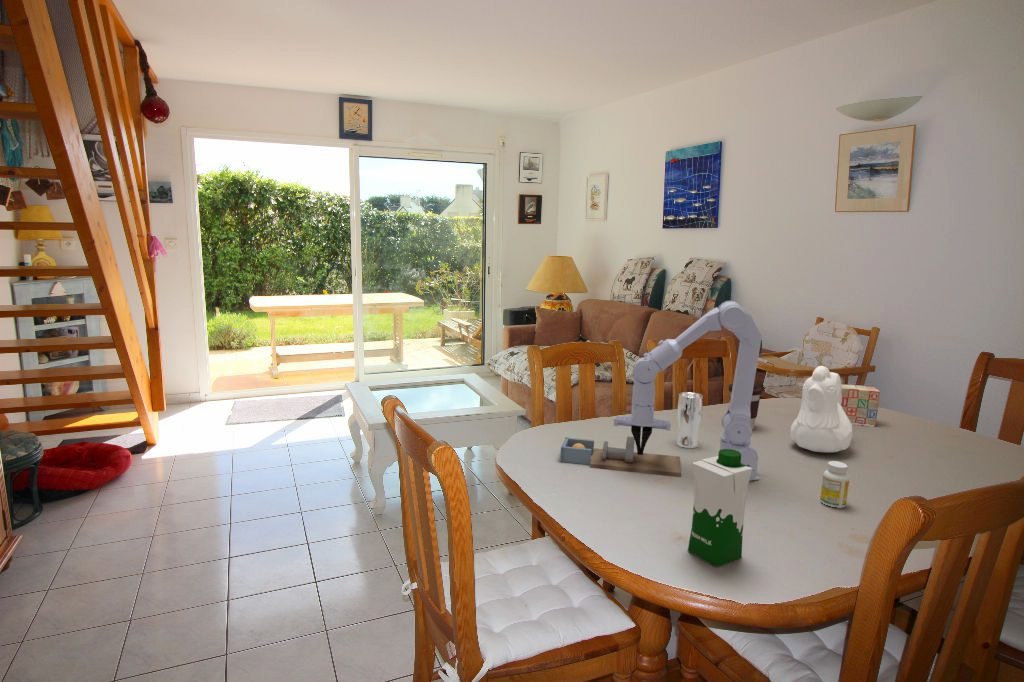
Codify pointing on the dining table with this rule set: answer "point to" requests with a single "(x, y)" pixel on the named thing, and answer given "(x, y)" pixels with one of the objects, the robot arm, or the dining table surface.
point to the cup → (577, 451)
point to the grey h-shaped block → (619, 451)
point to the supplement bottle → (835, 485)
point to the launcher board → (640, 463)
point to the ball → (578, 445)
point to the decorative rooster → (822, 415)
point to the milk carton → (719, 507)
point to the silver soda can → (689, 418)
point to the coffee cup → (752, 402)
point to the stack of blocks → (860, 403)
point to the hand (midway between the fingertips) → (640, 453)
